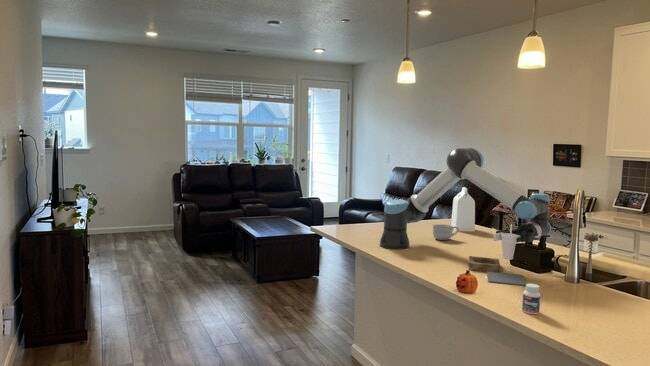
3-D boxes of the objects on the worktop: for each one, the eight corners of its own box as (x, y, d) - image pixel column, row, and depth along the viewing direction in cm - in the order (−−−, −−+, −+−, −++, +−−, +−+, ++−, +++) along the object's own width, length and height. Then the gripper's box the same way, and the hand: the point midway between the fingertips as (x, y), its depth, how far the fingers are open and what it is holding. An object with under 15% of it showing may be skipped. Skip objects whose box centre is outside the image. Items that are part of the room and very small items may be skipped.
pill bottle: (521, 313, 154) (523, 286, 153) (521, 307, 159) (523, 282, 158) (539, 315, 152) (541, 288, 151) (539, 310, 157) (541, 284, 156)
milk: (474, 231, 288) (477, 189, 286) (455, 231, 289) (457, 188, 286) (469, 227, 300) (471, 186, 298) (450, 227, 301) (452, 186, 298)
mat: (488, 282, 186) (488, 280, 186) (486, 272, 200) (487, 271, 200) (526, 286, 182) (526, 284, 182) (522, 276, 196) (522, 274, 196)
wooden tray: (468, 269, 204) (469, 262, 203) (468, 262, 215) (469, 256, 215) (499, 272, 200) (500, 265, 200) (498, 265, 212) (498, 258, 212)
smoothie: (514, 261, 186) (516, 226, 184) (497, 258, 189) (499, 224, 188) (517, 258, 191) (519, 223, 190) (501, 255, 195) (503, 221, 193)
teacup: (430, 240, 261) (431, 225, 260) (433, 236, 271) (434, 222, 270) (456, 242, 256) (457, 228, 255) (458, 239, 266) (459, 224, 265)
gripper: (551, 244, 195) (526, 253, 179) (506, 237, 209) (479, 244, 193) (552, 226, 194) (528, 233, 178) (507, 220, 208) (480, 226, 192)
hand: (503, 239), depth 186 cm, fingers closed on smoothie, 6 cm apart
